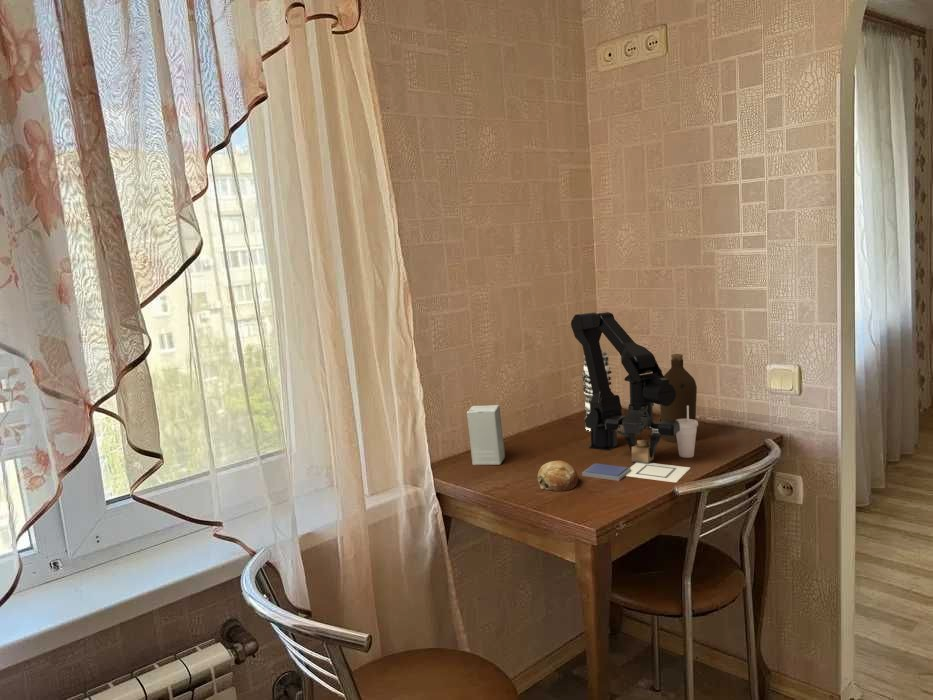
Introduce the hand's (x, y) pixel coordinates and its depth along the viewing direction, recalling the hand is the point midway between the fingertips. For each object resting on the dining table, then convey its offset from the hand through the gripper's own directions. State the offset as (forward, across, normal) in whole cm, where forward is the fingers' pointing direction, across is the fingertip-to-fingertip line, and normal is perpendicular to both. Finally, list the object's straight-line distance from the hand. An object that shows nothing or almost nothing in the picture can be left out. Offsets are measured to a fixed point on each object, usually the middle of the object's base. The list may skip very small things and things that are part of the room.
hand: (642, 456), depth 192 cm
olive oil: (+2, +2, +25) cm, 25 cm away
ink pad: (+2, -5, -13) cm, 14 cm away
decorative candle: (+2, -24, +27) cm, 36 cm away
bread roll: (+2, -13, -25) cm, 28 cm away
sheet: (+2, +6, -7) cm, 9 cm away
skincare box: (+2, -39, -16) cm, 42 cm away
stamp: (+1, 0, 0) cm, 1 cm away
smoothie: (+2, +9, +9) cm, 13 cm away
